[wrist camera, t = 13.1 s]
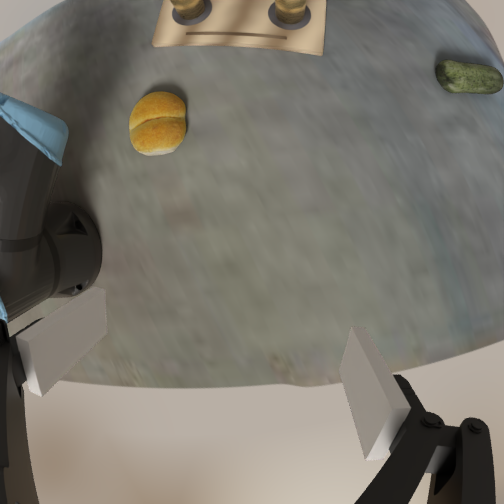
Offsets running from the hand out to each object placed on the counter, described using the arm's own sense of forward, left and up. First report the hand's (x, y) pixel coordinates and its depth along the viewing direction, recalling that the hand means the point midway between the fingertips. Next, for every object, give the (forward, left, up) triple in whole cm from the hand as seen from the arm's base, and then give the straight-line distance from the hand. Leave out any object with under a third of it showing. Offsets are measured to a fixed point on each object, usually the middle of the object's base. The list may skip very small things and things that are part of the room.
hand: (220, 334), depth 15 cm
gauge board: (-6, +33, -27) cm, 43 cm away
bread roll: (-15, +14, -27) cm, 34 cm away
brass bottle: (+1, +33, -25) cm, 42 cm away
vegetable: (+30, +30, -27) cm, 50 cm away
